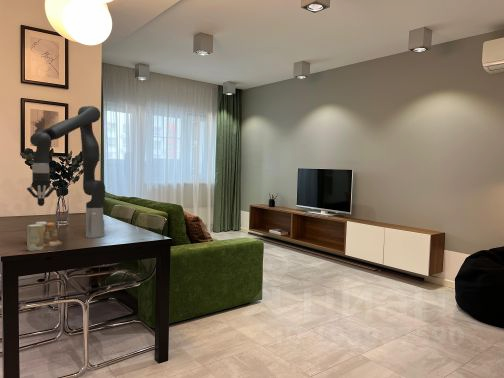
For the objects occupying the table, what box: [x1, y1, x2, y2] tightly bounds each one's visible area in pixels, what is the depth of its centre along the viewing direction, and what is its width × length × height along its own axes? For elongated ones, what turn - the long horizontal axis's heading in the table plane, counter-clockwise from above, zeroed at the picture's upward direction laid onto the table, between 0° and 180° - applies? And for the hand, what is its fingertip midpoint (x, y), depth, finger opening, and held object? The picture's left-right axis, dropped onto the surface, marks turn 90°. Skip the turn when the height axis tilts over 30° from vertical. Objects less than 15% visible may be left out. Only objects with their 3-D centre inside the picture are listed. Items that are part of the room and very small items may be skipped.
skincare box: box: [26, 224, 44, 252], centre depth 183 cm, size 6×4×12 cm
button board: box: [25, 227, 63, 248], centre depth 197 cm, size 13×17×7 cm
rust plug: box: [45, 221, 55, 231], centre depth 199 cm, size 5×5×7 cm
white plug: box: [35, 220, 48, 232], centre depth 192 cm, size 5×5×7 cm
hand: (40, 205), depth 191 cm, fingers closed
